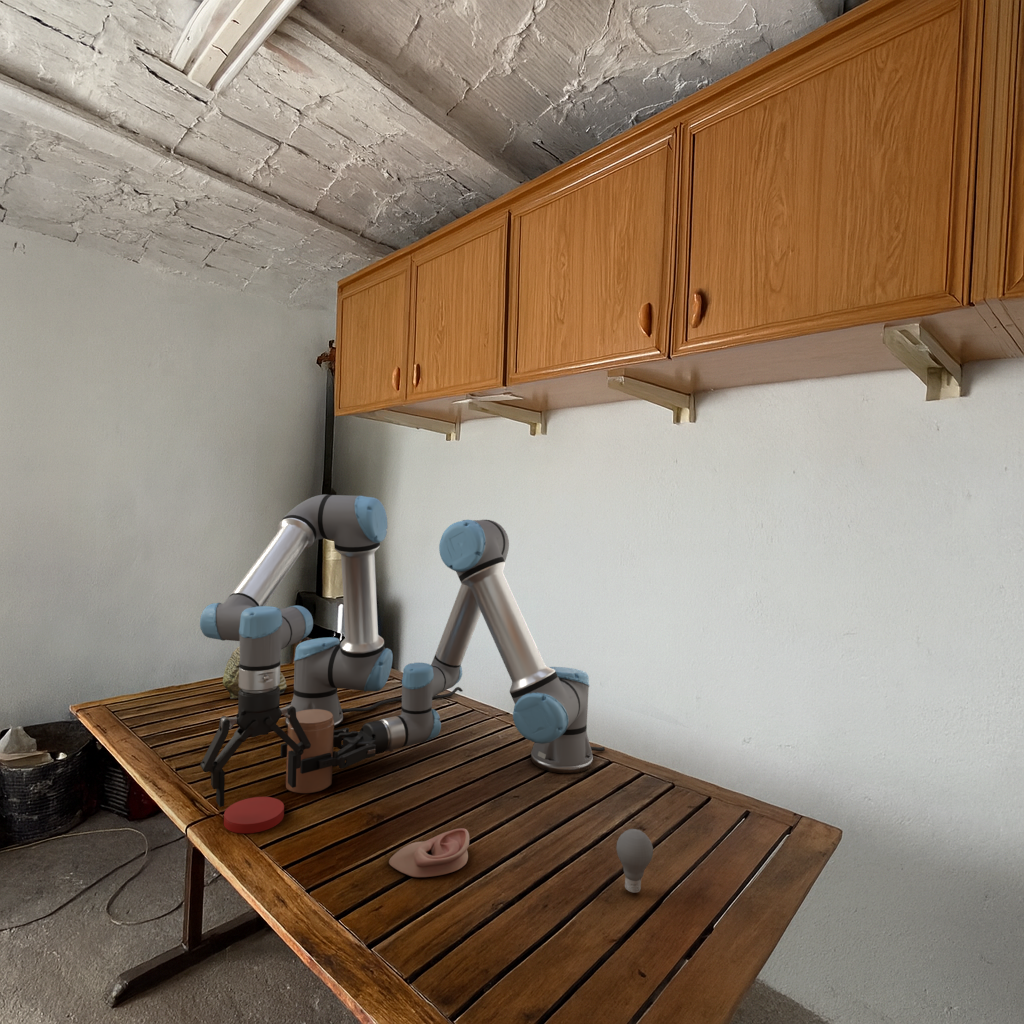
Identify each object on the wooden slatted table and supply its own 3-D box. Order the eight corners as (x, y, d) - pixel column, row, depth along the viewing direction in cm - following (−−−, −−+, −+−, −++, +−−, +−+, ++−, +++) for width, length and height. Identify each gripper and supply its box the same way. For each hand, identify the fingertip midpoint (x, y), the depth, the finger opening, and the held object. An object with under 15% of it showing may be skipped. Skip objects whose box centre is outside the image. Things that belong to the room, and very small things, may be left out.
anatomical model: (382, 848, 108) (407, 816, 119) (381, 871, 108) (406, 837, 119) (457, 861, 105) (475, 826, 116) (456, 884, 105) (474, 848, 116)
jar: (316, 769, 147) (319, 705, 146) (340, 783, 140) (343, 716, 140) (277, 782, 139) (279, 715, 139) (300, 797, 133) (303, 727, 133)
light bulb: (610, 879, 108) (613, 822, 108) (644, 879, 109) (647, 822, 109) (619, 902, 102) (622, 840, 102) (655, 901, 103) (658, 840, 103)
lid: (240, 803, 129) (240, 795, 129) (292, 807, 129) (292, 798, 129) (212, 831, 118) (212, 821, 118) (269, 835, 118) (269, 826, 118)
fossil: (218, 695, 195) (220, 647, 195) (278, 685, 208) (279, 640, 207) (228, 703, 189) (230, 653, 188) (289, 692, 201) (290, 645, 201)
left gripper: (193, 704, 113) (191, 821, 114) (328, 681, 128) (325, 784, 129) (184, 693, 118) (182, 803, 119) (314, 672, 134) (312, 770, 135)
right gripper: (406, 767, 144) (313, 795, 129) (358, 737, 160) (270, 758, 145) (408, 734, 143) (314, 758, 128) (359, 707, 160) (271, 726, 145)
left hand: (257, 794), depth 124 cm, fingers open, 13 cm apart
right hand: (291, 758), depth 137 cm, fingers closed on jar, 10 cm apart
